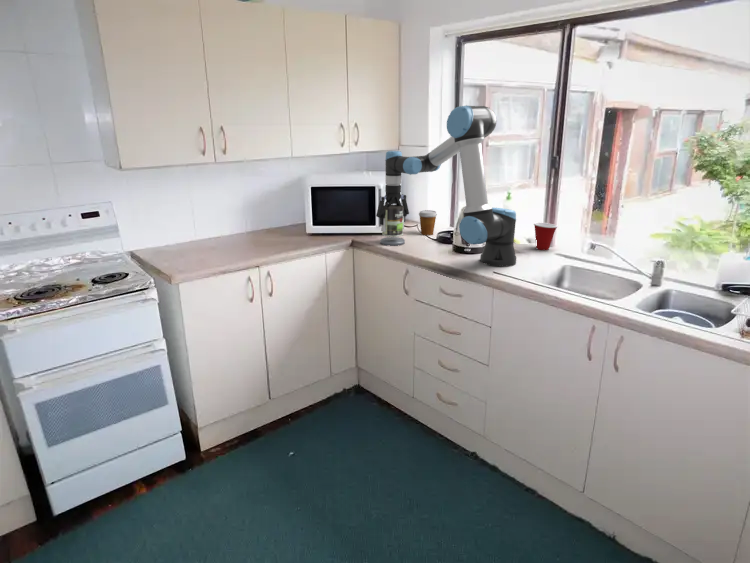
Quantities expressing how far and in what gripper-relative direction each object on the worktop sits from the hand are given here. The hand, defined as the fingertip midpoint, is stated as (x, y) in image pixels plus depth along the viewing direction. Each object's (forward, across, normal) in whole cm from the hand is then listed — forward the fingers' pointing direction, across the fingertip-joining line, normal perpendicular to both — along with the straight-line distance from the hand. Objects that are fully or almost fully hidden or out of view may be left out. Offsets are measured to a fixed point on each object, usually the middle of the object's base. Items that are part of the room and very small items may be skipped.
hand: (392, 230), depth 246 cm
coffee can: (+2, 0, 0) cm, 2 cm away
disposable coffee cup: (+7, -26, -7) cm, 28 cm away
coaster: (+6, 0, 0) cm, 6 cm away
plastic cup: (+6, -56, +45) cm, 72 cm away
